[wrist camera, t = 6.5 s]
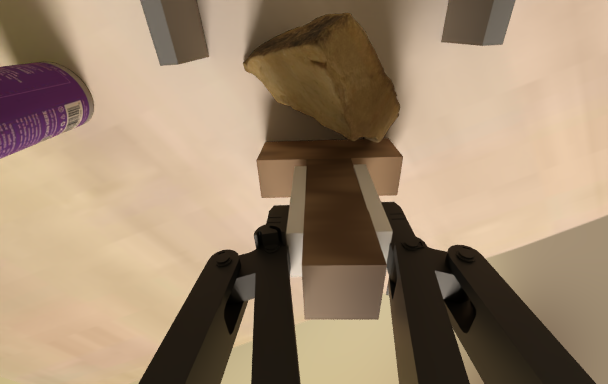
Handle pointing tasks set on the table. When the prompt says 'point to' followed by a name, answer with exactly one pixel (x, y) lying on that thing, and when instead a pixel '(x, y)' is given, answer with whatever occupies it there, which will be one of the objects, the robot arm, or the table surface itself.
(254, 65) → the rock
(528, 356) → the robot arm
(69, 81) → the container
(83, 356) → the table surface
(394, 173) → the brown t-shaped block
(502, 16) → the box
